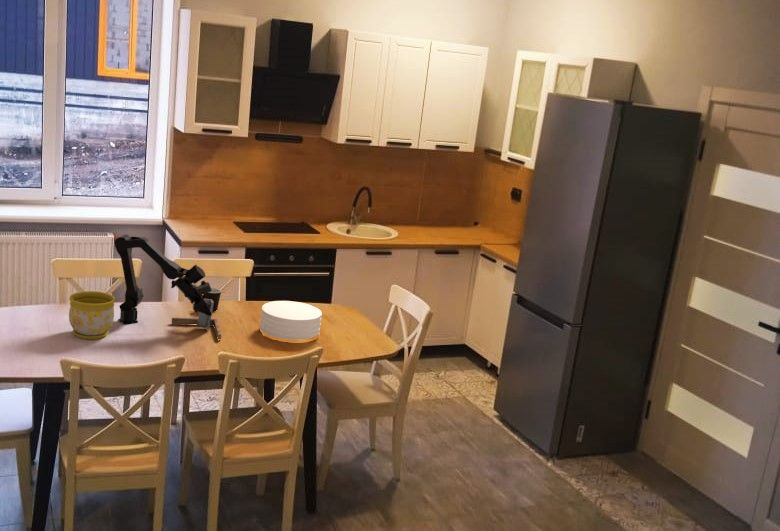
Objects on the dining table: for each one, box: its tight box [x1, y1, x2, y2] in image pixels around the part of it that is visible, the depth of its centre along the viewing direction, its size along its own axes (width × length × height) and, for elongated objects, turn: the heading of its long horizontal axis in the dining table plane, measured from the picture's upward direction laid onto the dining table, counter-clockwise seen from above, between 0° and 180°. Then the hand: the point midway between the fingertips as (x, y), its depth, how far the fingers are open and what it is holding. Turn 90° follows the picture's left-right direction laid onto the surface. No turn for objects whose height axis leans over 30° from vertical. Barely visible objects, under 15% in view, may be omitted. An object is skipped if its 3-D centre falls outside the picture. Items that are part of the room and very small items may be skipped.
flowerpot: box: [68, 290, 116, 340], centre depth 334 cm, size 18×18×16 cm
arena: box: [171, 317, 222, 340], centre depth 356 cm, size 21×20×3 cm
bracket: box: [196, 299, 214, 331], centre depth 359 cm, size 5×5×13 cm
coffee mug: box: [202, 287, 222, 312], centre depth 390 cm, size 12×9×10 cm
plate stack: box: [259, 300, 323, 340], centre depth 372 cm, size 28×28×12 cm
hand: (210, 313), depth 360 cm, fingers open, 5 cm apart
